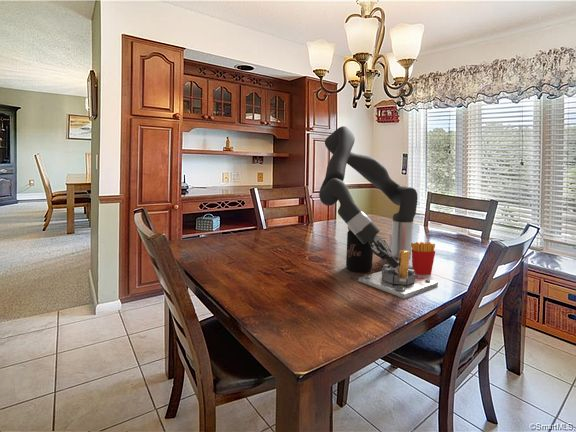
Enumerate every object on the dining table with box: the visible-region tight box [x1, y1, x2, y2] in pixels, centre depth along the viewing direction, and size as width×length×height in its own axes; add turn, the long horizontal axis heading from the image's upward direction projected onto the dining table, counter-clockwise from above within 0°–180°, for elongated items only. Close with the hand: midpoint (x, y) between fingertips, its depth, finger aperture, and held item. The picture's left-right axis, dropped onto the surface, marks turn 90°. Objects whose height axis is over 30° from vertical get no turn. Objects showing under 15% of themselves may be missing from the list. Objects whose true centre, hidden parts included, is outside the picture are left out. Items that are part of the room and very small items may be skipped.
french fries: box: [411, 241, 436, 276], centre depth 139 cm, size 9×4×13 cm, turn 86°
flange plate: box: [358, 260, 439, 299], centre depth 127 cm, size 20×20×8 cm
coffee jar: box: [345, 225, 374, 274], centre depth 143 cm, size 11×11×18 cm
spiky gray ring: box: [381, 250, 416, 285], centre depth 123 cm, size 17×11×13 cm, turn 170°
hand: (396, 266), depth 117 cm, fingers closed
